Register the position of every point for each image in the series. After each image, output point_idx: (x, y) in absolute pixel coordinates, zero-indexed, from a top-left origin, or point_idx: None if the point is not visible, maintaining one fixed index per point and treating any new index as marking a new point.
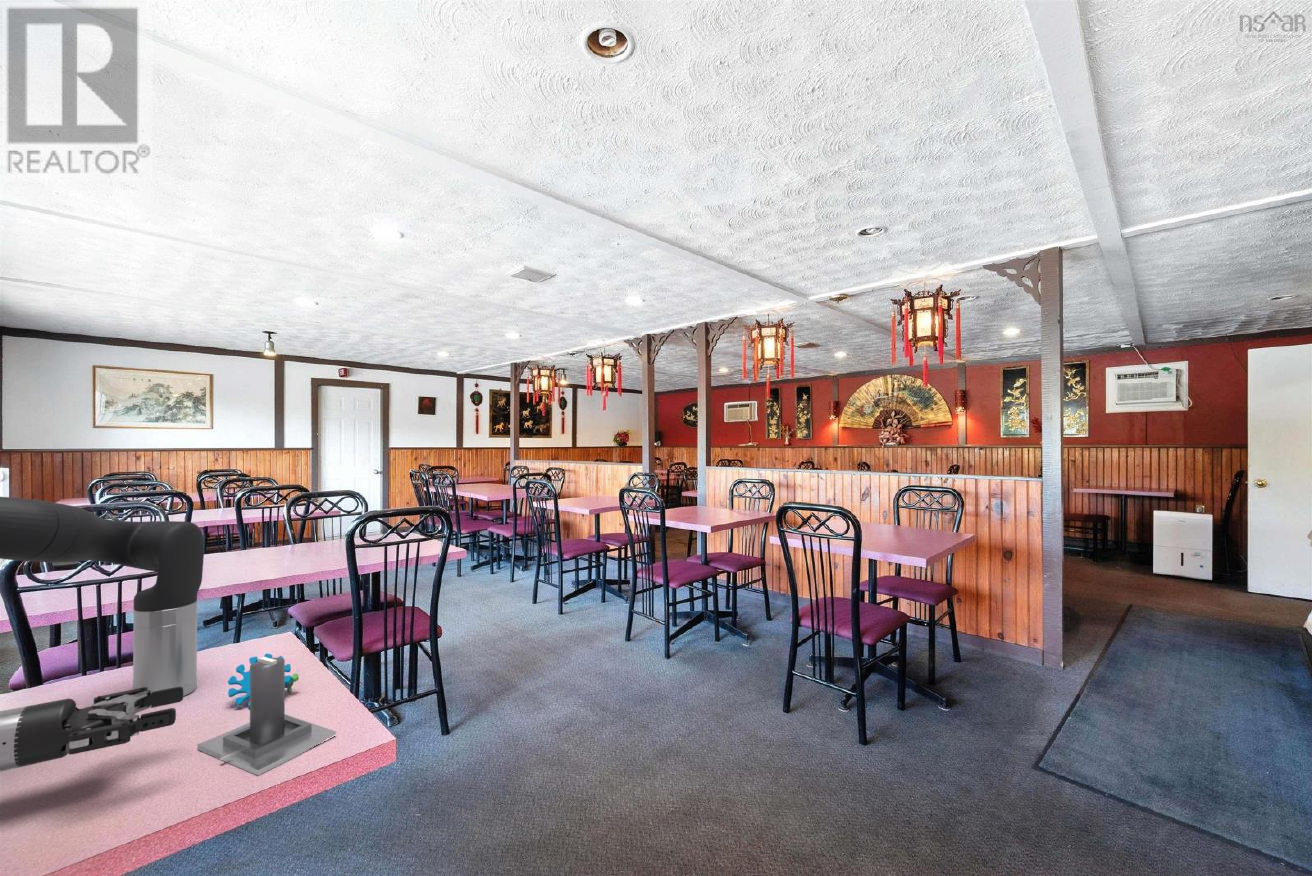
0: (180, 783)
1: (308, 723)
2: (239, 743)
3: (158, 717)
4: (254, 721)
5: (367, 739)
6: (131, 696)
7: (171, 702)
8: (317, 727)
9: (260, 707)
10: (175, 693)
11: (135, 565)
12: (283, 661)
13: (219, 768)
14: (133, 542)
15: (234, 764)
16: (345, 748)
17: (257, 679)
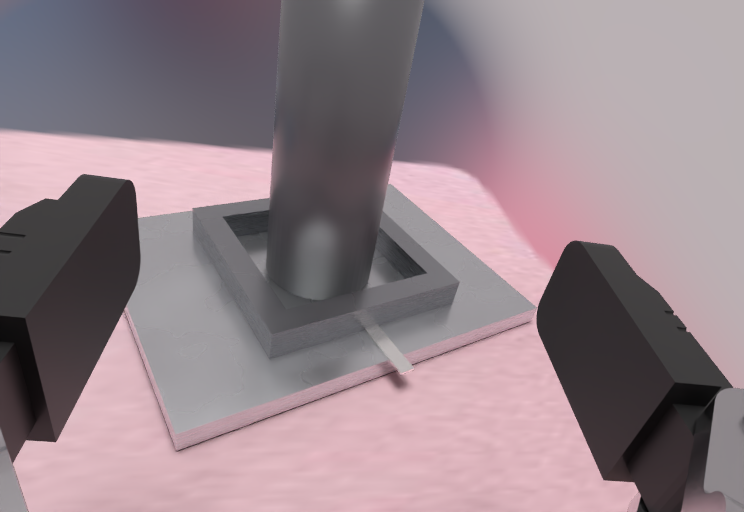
0: (488, 503)
1: None
2: (377, 304)
3: (673, 316)
4: (367, 219)
5: (440, 175)
6: (6, 472)
7: (113, 313)
8: None
9: (391, 160)
10: (122, 233)
11: None
12: None
13: (426, 391)
14: None
15: (432, 354)
16: (463, 200)
17: (408, 39)
